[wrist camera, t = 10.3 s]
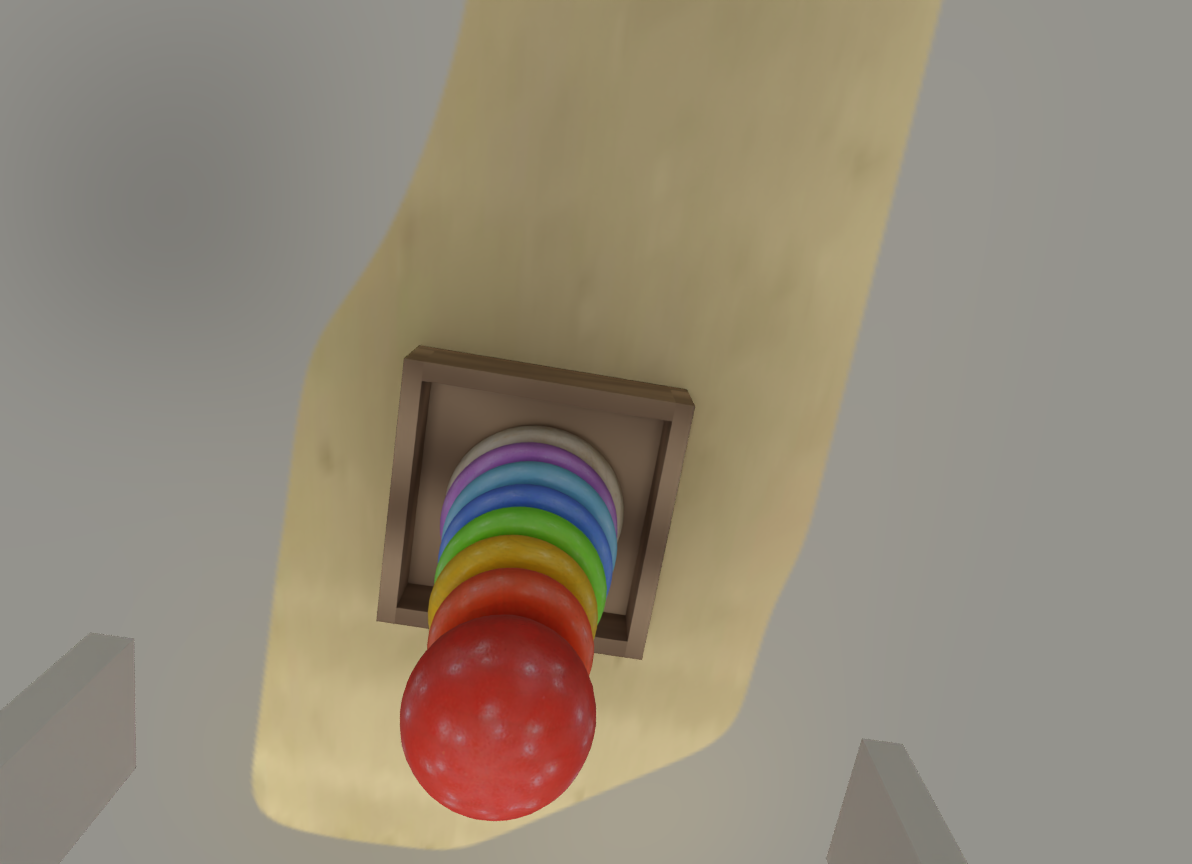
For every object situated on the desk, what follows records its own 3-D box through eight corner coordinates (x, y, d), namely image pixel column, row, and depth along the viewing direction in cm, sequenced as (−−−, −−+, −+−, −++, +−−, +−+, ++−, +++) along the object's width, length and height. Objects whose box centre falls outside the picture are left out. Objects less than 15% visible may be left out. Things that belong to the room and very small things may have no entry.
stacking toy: (641, 559, 38) (688, 890, 20) (478, 600, 38) (377, 958, 20) (597, 400, 35) (604, 606, 17) (425, 446, 36) (259, 692, 18)
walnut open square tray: (419, 345, 35) (403, 358, 32) (686, 389, 36) (695, 405, 33) (392, 589, 39) (376, 620, 36) (637, 625, 39) (642, 659, 36)
